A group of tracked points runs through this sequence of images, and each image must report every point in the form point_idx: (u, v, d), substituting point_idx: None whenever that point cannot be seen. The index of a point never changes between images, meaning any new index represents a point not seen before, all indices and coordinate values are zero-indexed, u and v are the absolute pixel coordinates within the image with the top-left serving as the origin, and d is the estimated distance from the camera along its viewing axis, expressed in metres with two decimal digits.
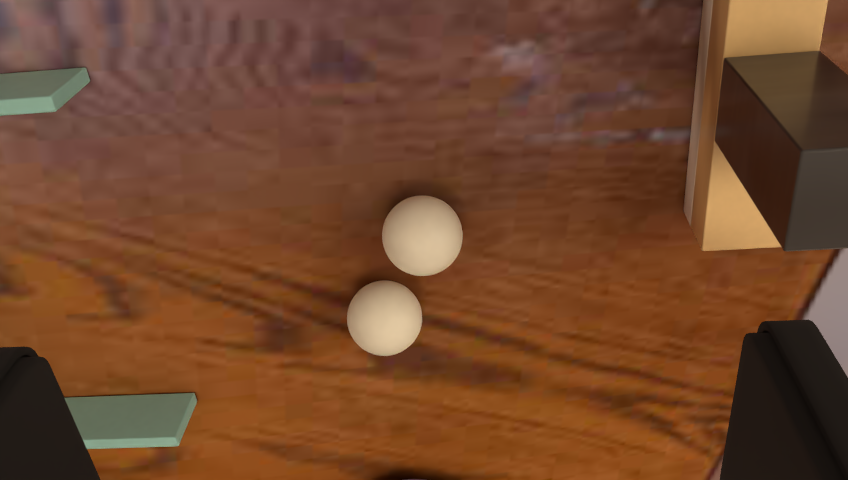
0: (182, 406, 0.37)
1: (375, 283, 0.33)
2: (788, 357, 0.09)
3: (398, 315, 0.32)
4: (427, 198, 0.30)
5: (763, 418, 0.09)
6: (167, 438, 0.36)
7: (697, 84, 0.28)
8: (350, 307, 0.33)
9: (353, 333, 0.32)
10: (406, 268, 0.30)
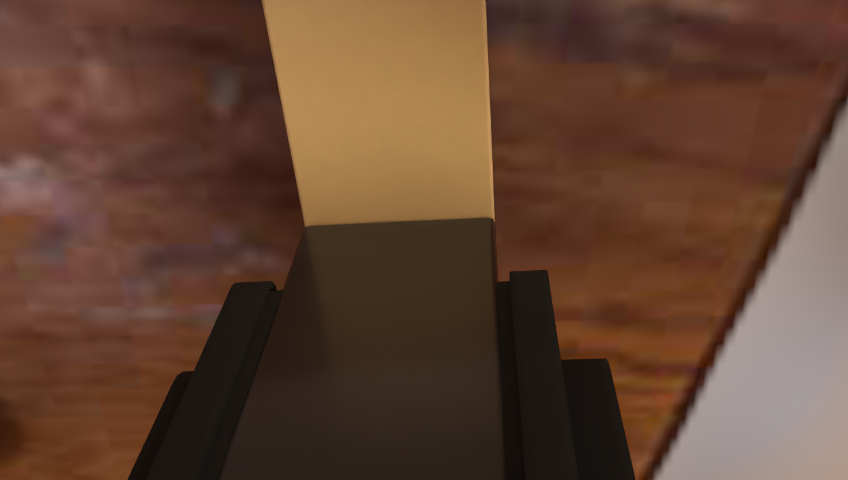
0: None
1: None
2: (513, 299, 0.10)
3: None
4: None
5: None
6: None
7: None
8: None
9: None
10: None
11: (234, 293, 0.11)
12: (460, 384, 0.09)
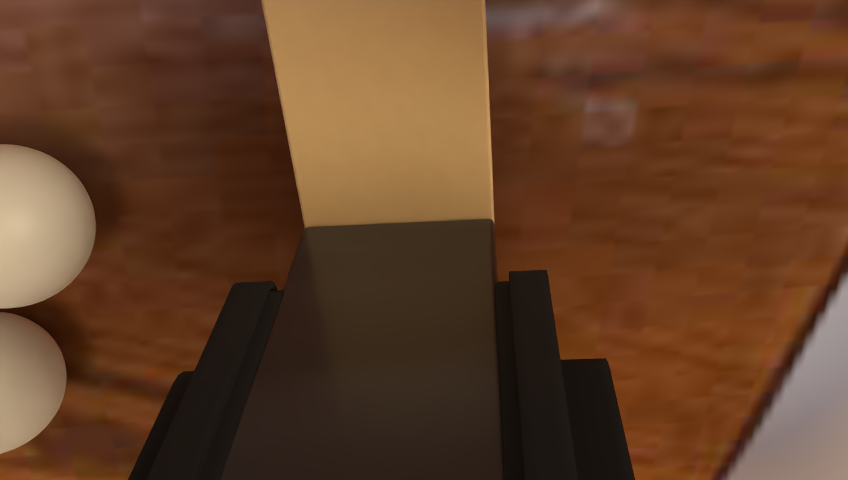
0: None
1: None
2: (512, 299, 0.10)
3: None
4: None
5: None
6: None
7: None
8: None
9: None
10: None
11: (235, 293, 0.11)
12: (459, 386, 0.09)
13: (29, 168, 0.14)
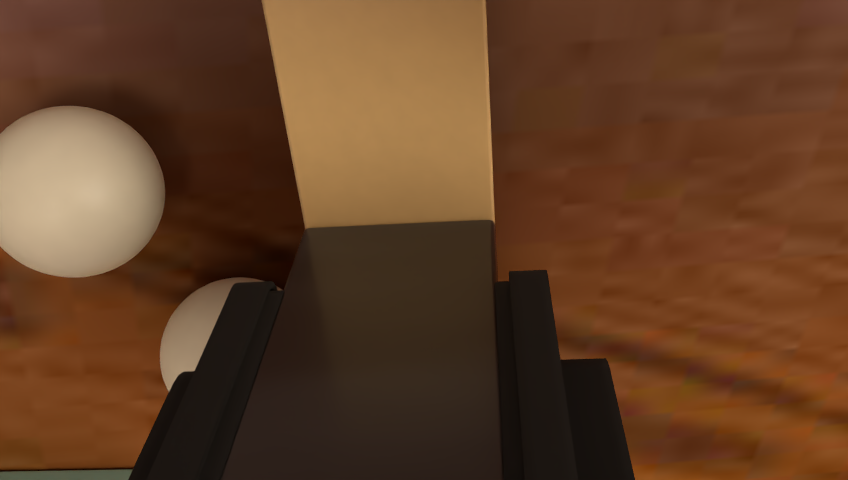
0: None
1: (212, 308, 0.15)
2: (513, 299, 0.10)
3: None
4: (71, 111, 0.14)
5: None
6: None
7: None
8: None
9: None
10: (10, 255, 0.14)
11: (235, 293, 0.11)
12: (460, 387, 0.09)
13: (95, 135, 0.14)
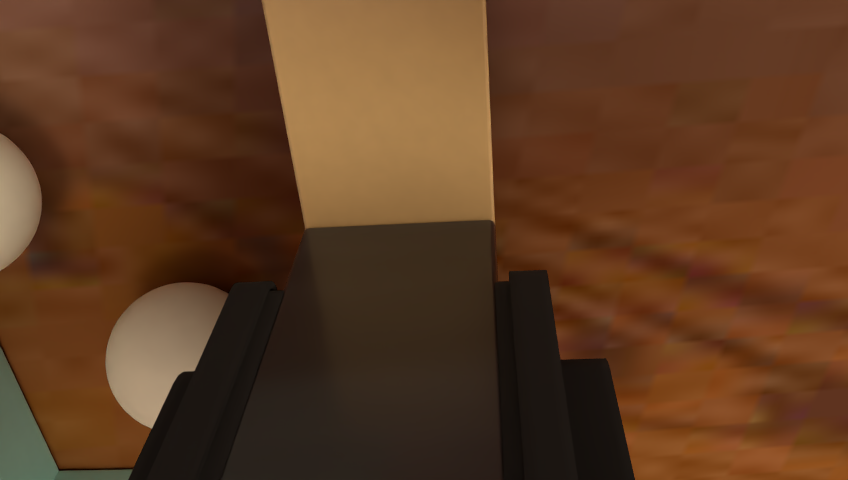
0: None
1: (183, 305, 0.16)
2: (513, 299, 0.10)
3: None
4: None
5: None
6: None
7: None
8: None
9: None
10: None
11: (235, 293, 0.11)
12: (460, 387, 0.09)
13: None
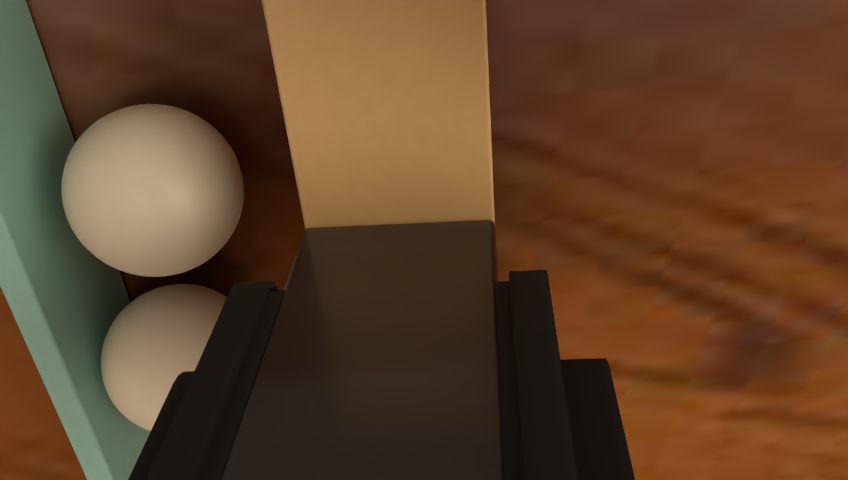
0: None
1: (139, 306, 0.16)
2: (512, 299, 0.10)
3: None
4: (151, 105, 0.14)
5: None
6: None
7: None
8: (148, 370, 0.15)
9: None
10: (137, 262, 0.14)
11: (234, 293, 0.11)
12: (460, 387, 0.09)
13: (192, 118, 0.14)
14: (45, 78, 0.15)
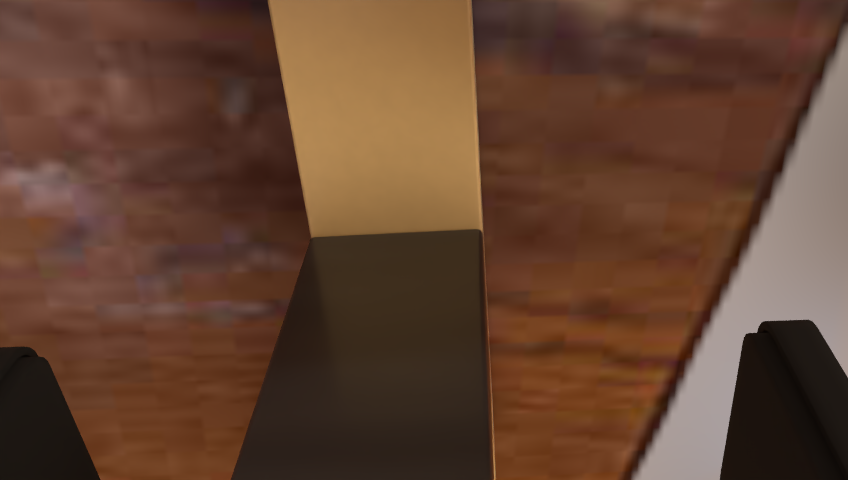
0: None
1: None
2: (788, 357, 0.09)
3: None
4: None
5: (763, 418, 0.09)
6: None
7: None
8: None
9: None
10: None
11: None
12: (450, 373, 0.10)
13: None
14: None
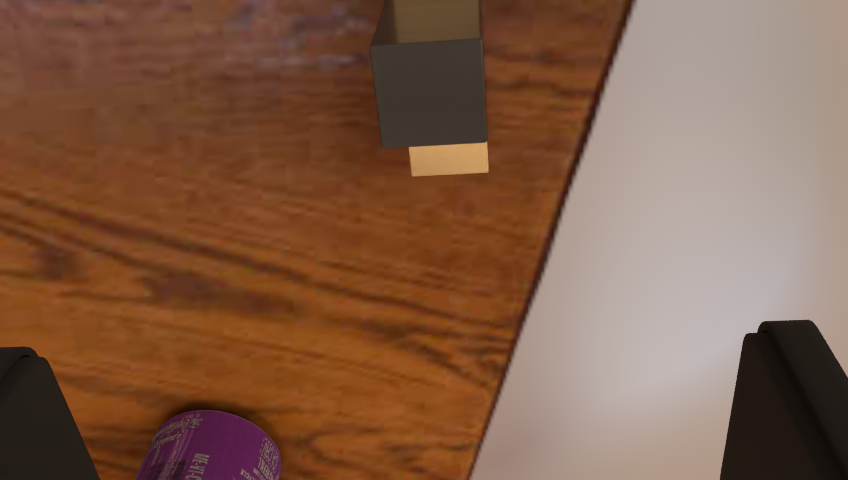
0: None
1: None
2: (788, 357, 0.09)
3: None
4: None
5: (763, 418, 0.09)
6: None
7: None
8: None
9: None
10: None
11: None
12: (464, 5, 0.23)
13: None
14: None
